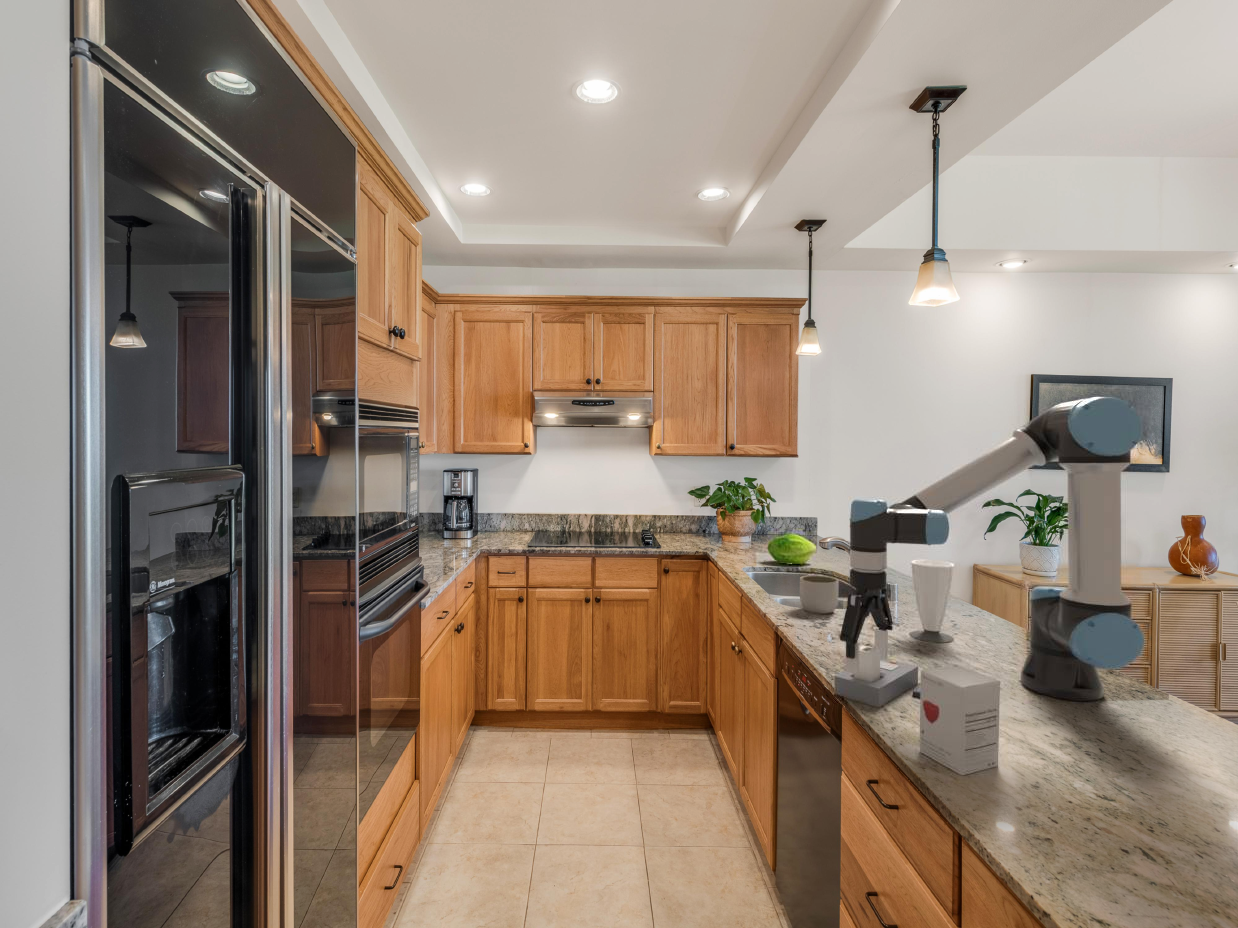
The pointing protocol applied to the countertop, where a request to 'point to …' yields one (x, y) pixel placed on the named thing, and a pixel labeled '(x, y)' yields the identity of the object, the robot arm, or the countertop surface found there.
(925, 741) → the supplement box
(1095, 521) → the robot arm
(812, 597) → the planter
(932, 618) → the cup
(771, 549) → the green oval fruit
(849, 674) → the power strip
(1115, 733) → the countertop surface
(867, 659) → the block
